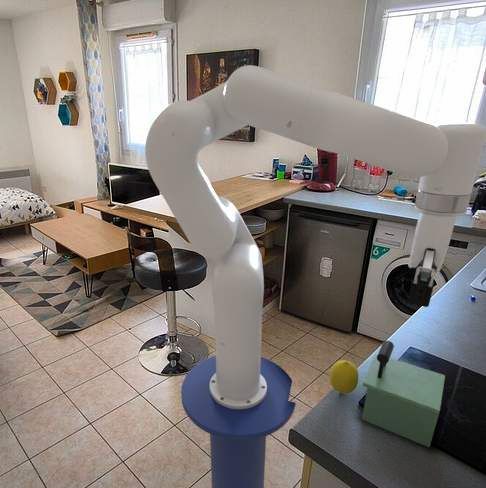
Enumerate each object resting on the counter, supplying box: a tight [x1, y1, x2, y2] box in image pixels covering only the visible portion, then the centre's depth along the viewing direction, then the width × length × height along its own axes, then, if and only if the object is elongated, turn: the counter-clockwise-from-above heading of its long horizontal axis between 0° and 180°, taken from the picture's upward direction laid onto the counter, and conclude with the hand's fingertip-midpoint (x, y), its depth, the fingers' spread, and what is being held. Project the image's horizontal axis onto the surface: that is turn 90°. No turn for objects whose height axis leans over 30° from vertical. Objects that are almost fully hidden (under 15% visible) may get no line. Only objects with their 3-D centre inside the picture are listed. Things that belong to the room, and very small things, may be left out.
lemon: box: [329, 359, 359, 395], centre depth 75 cm, size 6×6×8 cm
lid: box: [362, 340, 446, 415], centre depth 67 cm, size 12×10×6 cm
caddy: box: [361, 387, 440, 448], centre depth 69 cm, size 11×10×8 cm
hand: (420, 293), depth 67 cm, fingers open, 9 cm apart
